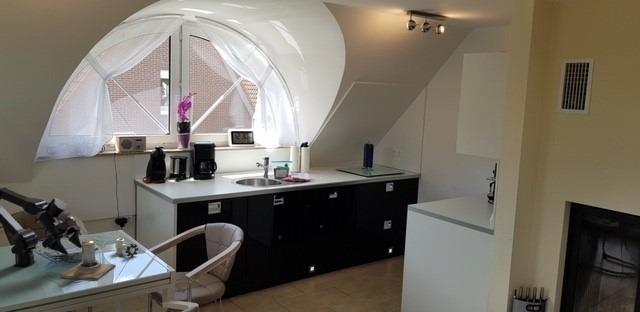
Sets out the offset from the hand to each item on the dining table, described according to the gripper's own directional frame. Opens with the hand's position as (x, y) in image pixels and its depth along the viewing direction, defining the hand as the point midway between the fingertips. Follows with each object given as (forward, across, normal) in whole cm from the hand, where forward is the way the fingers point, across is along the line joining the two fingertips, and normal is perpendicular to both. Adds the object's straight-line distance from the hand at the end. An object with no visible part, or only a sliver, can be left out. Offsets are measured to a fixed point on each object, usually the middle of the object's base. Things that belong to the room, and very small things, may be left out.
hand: (74, 250), depth 220 cm
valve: (+13, +25, 0) cm, 28 cm away
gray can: (+10, 0, +1) cm, 10 cm away
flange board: (+11, 0, +1) cm, 11 cm away
